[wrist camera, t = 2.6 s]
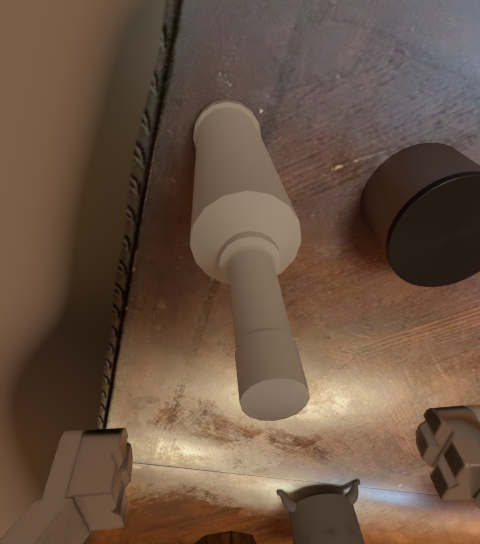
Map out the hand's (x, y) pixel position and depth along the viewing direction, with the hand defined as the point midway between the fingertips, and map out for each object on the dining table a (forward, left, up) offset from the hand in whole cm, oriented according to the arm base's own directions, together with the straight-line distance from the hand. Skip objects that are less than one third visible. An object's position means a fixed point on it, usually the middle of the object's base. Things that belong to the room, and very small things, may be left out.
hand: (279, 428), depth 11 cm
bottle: (0, 0, -26) cm, 26 cm away
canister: (+14, +12, -26) cm, 32 cm away
